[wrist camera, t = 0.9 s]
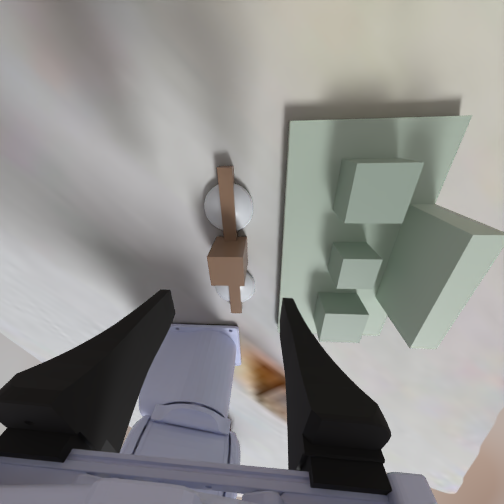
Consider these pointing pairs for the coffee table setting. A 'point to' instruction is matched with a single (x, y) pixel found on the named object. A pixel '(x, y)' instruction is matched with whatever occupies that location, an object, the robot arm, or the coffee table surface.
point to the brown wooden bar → (229, 239)
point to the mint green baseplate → (378, 229)
